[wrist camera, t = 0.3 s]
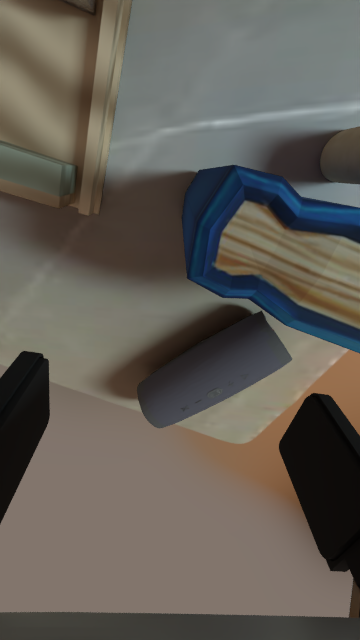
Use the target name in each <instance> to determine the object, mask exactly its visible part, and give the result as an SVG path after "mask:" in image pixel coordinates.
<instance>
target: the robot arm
mask: <svg viewBox="0 0 360 640" xmlns="http://www.w3.org/2000/svg"><path fill="white" fill-rule="evenodd" d="M49 416H50V410H49V361H48V359H45V358H44V357H43V354H41V353H35V352H28V351H23V352H21V353H20V354H19V356H18V357H17V358H16V359H15V361H14V362H13V363H12V364H11V366H10V367H9V368H8V369H7V371H6V372H5V373H4V374H3V376H2V377H1V378H0V523H1V521H2V519H3V517H4V515H5V513H6V511H7V509H8V506H9V504H10V502H11V500H12V498H13V496H14V494H15V492H16V490H17V488H18V485H19V483H20V481H21V479H22V477H23V475H24V473H25V471H26V468H27V467H28V464H29V462H30V460H31V458H32V456H33V454H34V452H35V450H36V448H37V446H38V443H39V441H40V439H41V437H42V435H43V433H44V431H45V429H46V427H47V424H48V421H49ZM279 450H280V454H281V456H282V459H283V461H284V464H285V466H286V469H287V471H288V474H289V476H290V479H291V481H292V484H293V486H294V489H295V491H296V494H297V496H298V499H299V501H300V504H301V506H302V509H303V511H304V514H305V516H306V519H307V522H308V524H309V526H310V529H311V532H312V534H313V537H314V539H315V542H316V544H317V546H318V549H319V551H320V554H321V555H322V556H323V557H324V558H325V559H326V561H327V563H328V566H329V568H330V571H343V572H345V571H347V570H349V569H350V571H351V574H352V576H353V586H352V595H351V603H350V612H349V618H343V617H342V618H341V617H305V616H261V615H260V616H259V615H212V614H159V613H158V614H157V613H156V614H155V613H154V614H153V613H91V612H90V613H89V612H20V613H19V612H18V613H17V612H13V613H12V612H5V613H4V612H3V613H0V640H360V436H359V434H358V433H357V432H356V430H355V429H354V427H353V426H352V425H351V423H350V422H349V421H348V419H347V418H346V416H345V415H344V414H343V412H342V411H341V409H340V408H339V407H338V405H337V404H336V402H335V401H334V400H333V398H332V397H331V396H329V395H324V394H317V393H313V394H311V395H310V396H308V397H307V398H306V399H305V400H304V402H303V404H302V406H301V407H300V409H299V410H298V412H297V414H296V415H295V417H294V419H293V420H292V422H291V424H290V425H289V427H288V429H287V430H286V432H285V434H284V435H283V437H282V439H281V441H280V443H279Z"/></svg>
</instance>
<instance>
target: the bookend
mask: <svg viewBox="0 0 360 640" xmlns="http://www.w3.org/2000/svg"><path fill="white" fill-rule="evenodd" d="M59 1H62V2H64V3H66V4H69V5H71V6H73V7H75V8H78V9H80V10H82V11H85V12H87V13H89V14H92V15H94V16H95V13H96V4H97V0H59Z"/></svg>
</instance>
